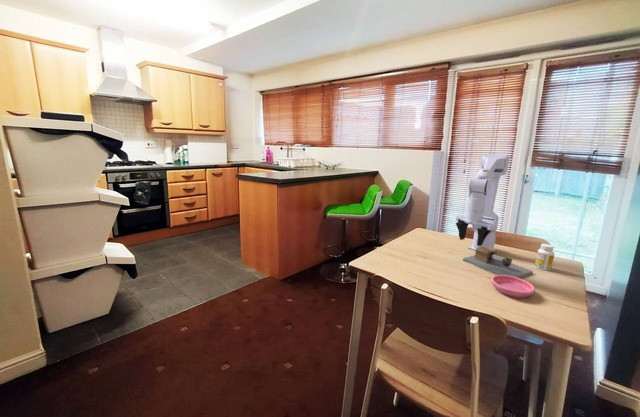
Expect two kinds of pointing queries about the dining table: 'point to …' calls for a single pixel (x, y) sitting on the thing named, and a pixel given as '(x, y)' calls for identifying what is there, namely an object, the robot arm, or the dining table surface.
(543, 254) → the supplement bottle
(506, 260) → the shaft
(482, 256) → the bearing block
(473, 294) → the dining table surface
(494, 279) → the saucer
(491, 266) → the base board
